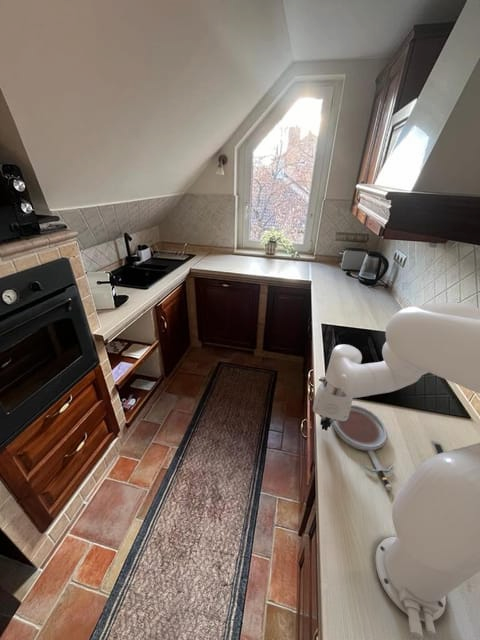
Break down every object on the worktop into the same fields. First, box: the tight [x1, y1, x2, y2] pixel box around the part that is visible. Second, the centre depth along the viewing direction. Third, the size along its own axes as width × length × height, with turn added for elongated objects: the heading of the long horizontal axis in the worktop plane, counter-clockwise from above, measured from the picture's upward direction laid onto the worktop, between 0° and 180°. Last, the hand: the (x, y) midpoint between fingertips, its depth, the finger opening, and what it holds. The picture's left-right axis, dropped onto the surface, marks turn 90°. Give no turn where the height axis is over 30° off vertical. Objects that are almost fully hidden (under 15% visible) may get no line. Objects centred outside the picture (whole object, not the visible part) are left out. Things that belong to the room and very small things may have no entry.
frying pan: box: [332, 404, 394, 492], centre depth 79 cm, size 17×3×28 cm
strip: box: [434, 443, 444, 454], centre depth 75 cm, size 12×2×1 cm, turn 161°
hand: (324, 426), depth 82 cm, fingers closed
